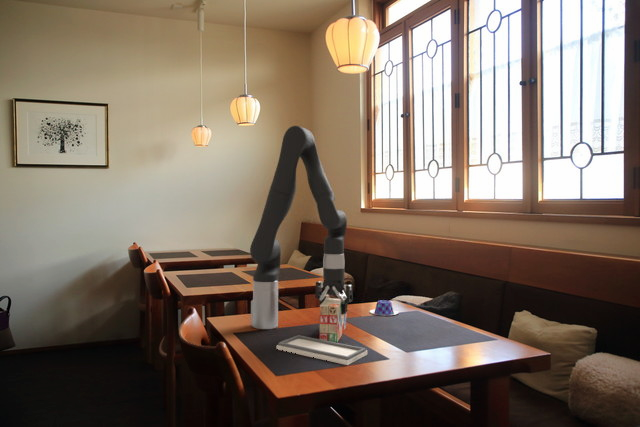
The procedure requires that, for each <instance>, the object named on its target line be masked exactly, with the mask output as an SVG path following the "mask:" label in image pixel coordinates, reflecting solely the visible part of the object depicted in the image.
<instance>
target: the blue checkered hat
mask: <svg viewBox="0 0 640 427" xmlns="http://www.w3.org/2000/svg"><path fill="white" fill-rule="evenodd" d="M369 313H370V314H373V315H377V316H385V317H386V316H387V317H389V316H395V315H397V314H399V311H398V310H395V309H394V308H393V304H392V302H391V301H390V300H386V299H385V300H384V299H382V300H380V299H379V300H378V301H377V302H376V305H375V308H374V309H370V310H369Z"/></svg>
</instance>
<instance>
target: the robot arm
mask: <svg viewBox="0 0 640 427" xmlns="http://www.w3.org/2000/svg"><path fill="white" fill-rule="evenodd" d="M300 159H301V161H302V162H303V166H304V168H305V172H306V177H307V182H308V188H309V189H310V192H311V195H312V196H313V199H314V202H315V204H316V208H317V213H318V216H319V221H320V222H321V225H322V226H323V227H324V228H325V229H327V230H328V231H327V236H326V237H325V238H324V241H323V242H324V243H323V259H322V260H323V261H322V264H323V265H322V271H323V272H322V278H323V281H322V280H318V281H316V282H315V299H318V300H319V303H320V304H319V306H320V305H321V304H322V303H323V302H324V300H325V299H326V298H328V297H329V296H334V297H337V299H340V300H341V302H342V304H341V314H343V315H344V314H346V315H347V312H348V303H351V302H353V300H354V299H353V297H354V295H353V285H352V284H345V272H346V271H345V264H346V263H345V261H346V259H345V238H346V232H347V227H348V224H347V223H348V221H347V219H348V218H347V215H346V214H345V211H343V210H341V209H337V208H336V204H335V202H334V201H335V194H334V191H333V189H332V187H331V185H330V182H329V180H328V178H327V174H326V172H325V170H324V167H323V165H322V162H321V158H320V156H319V153H318V148H317V144H316V140H315V137H314V135H313V133H312V132H311V131H310V130H309V129H307V128H304V127H302V126H300V125H292V126H290V127H289V128H287V130H286V131H285V132H284V135H283V137H282V141H281V148H280V153H279V157H278V161H277V162H278V163H277V166H276V167H275V168H276V169H275V172H274V175H273V178H272V182H271V184H270V187H269V189H268V194H267V197H266V200H265V201H266V202H265V205H264V208H263V211H262V215H261V218H260V221H259V224H258V227H257V229H256V232H255V235H254V237H253V239H252V241H251V245H250V248H249V252H250V257H251V259H252V260H253V261H254V262H255V263H257V265H256V269H255V270H254V272H253V275H252V277H253V278H252V284H253V285H252V289H253V290H252V293H253V294H252V300H251V301H250V327H253V328H255V329H257V330H272V329H276V328H277V327H278V326H279V324H278V323H279V275H280V273H281V272H280V271H281V256H282V254H281V253H282V252H281V250H282V249H281V245H280V243H279V241H278V240H277V239H276V238H277V237H276V236H277V234H278V230H279V228H280V226H281V224H282V223H283V221H284V220H285V218H286V217H287V215H288V214H289V211H290V209H291V207H292V205H293V201H294V198H295V195H296V190H297V168H298V164H299V160H300ZM323 289H324V290H323Z"/></svg>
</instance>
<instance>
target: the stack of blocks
mask: <svg viewBox="0 0 640 427" xmlns="http://www.w3.org/2000/svg"><path fill="white" fill-rule="evenodd" d="M341 304H342V302H341V300H340V299H339V298H331V297H330V298H329V297H327V298H326V299H325V300H324V302H323V303H322V304H321V305H320V304H319V334H318V335H319V336H318V339H321V340H326V341H331V342H337V343H339V340H340V339H341V337H342V335H343V332H344V331H345V329H346V327H347V313H346V314H344V315H343V314H341Z"/></svg>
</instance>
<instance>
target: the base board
mask: <svg viewBox="0 0 640 427" xmlns="http://www.w3.org/2000/svg"><path fill="white" fill-rule="evenodd" d="M277 349H278V351H282V350H283V352H286V351H287V353H291V352H292V353H291V354H295V353H296V355H301V356H305V357H309V358H313V357H314V359H318V360H323V361H326V360H327V361H328V362H332V363H337V364H339V365H344V366H349V365H350V364H352V363H354V362H356V361H358V360H360V359H361V358H364V357H365V356H367V355H368V353H369V352H368V350H367V348H365V347H361V346H356V345H350V344H346V343H340V342H337V343H336V342H331V341H326V340H321V339H319V338H315V337H309V336H306V335H299V334H298V335H295V336H293V337H290V338H287V339H284V340H282V341H279V342H278V344H277V345H276V350H277Z"/></svg>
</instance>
